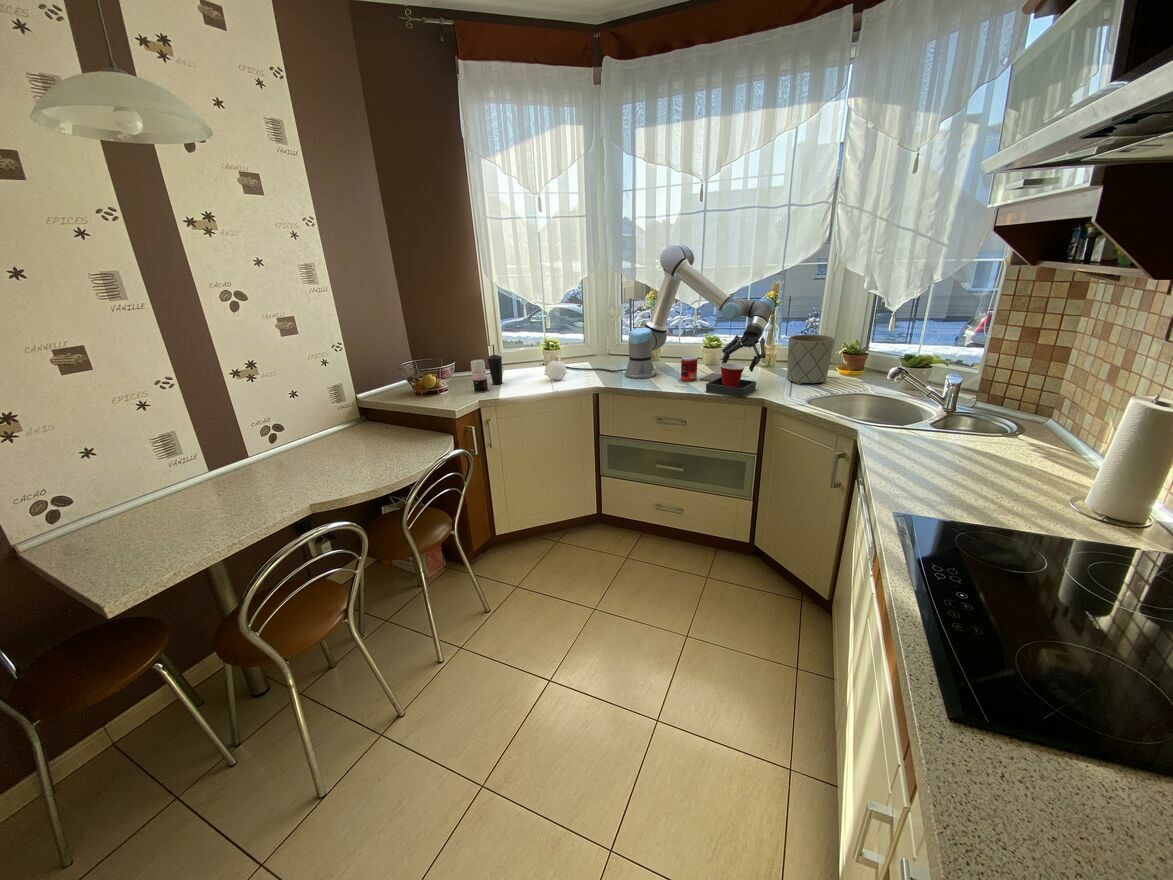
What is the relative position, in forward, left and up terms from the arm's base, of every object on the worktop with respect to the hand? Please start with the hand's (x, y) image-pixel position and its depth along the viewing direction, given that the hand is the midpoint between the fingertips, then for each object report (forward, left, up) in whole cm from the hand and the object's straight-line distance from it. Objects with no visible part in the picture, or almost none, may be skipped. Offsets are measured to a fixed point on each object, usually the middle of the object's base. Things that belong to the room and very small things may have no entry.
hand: (736, 368), depth 212 cm
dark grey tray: (0, -3, -10) cm, 10 cm away
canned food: (-26, +6, -10) cm, 29 cm away
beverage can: (-102, -63, -10) cm, 121 cm away
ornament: (-84, -28, -10) cm, 90 cm away
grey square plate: (-14, +15, -10) cm, 23 cm away
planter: (+22, +31, -10) cm, 39 cm away
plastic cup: (0, -3, -10) cm, 11 cm away
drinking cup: (-106, -50, -10) cm, 118 cm away
